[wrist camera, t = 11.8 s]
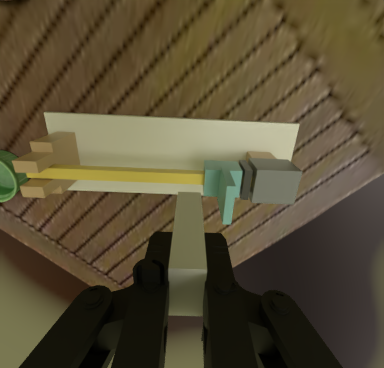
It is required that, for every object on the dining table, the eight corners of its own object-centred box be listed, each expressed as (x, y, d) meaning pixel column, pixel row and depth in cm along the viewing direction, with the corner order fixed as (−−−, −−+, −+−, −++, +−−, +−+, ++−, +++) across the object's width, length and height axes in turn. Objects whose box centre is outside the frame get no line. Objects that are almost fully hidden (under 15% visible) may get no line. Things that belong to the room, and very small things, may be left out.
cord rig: (47, 111, 38) (-12, 124, 27) (296, 122, 39) (338, 140, 27) (64, 186, 44) (20, 223, 33) (279, 195, 44) (308, 233, 33)
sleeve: (204, 156, 34) (208, 185, 25) (237, 158, 34) (254, 187, 25) (202, 187, 36) (205, 223, 27) (233, 188, 36) (247, 224, 27)
